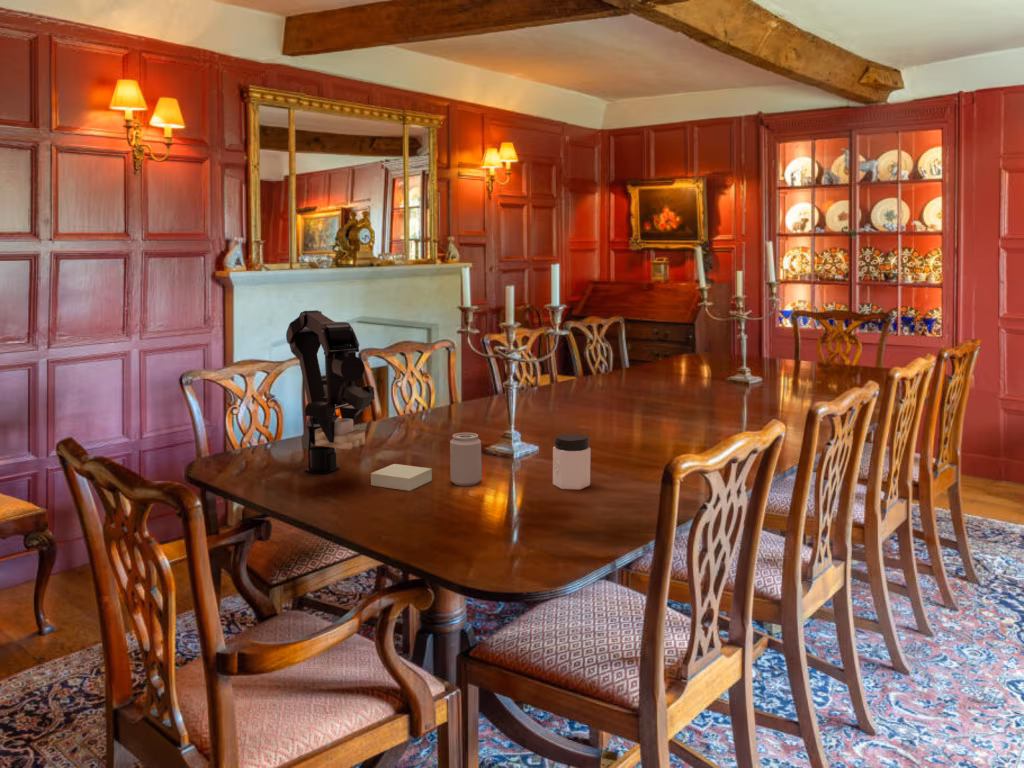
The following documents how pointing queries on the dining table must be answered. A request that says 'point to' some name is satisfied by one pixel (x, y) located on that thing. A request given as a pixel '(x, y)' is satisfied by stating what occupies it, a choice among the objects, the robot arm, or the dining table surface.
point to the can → (465, 459)
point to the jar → (571, 461)
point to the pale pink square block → (343, 426)
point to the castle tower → (341, 439)
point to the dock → (401, 477)
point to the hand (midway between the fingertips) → (340, 439)
